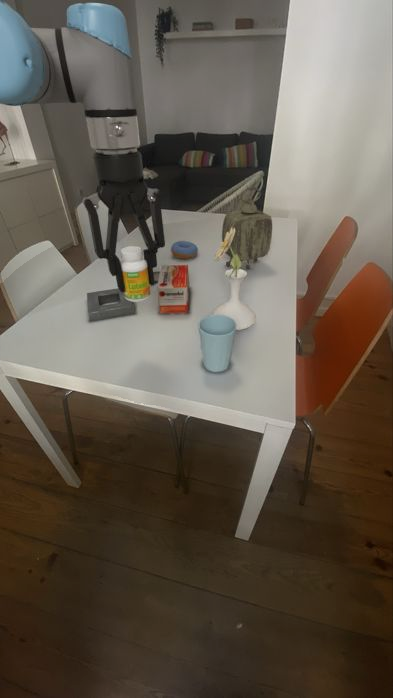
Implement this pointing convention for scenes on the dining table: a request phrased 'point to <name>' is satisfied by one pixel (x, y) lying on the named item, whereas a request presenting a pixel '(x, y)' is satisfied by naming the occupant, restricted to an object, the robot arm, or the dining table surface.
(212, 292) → the dining table surface
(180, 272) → the medicine box
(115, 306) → the bottle stand
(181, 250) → the doughnut
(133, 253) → the supplement bottle
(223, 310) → the flower in vase
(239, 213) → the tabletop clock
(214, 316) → the cup
